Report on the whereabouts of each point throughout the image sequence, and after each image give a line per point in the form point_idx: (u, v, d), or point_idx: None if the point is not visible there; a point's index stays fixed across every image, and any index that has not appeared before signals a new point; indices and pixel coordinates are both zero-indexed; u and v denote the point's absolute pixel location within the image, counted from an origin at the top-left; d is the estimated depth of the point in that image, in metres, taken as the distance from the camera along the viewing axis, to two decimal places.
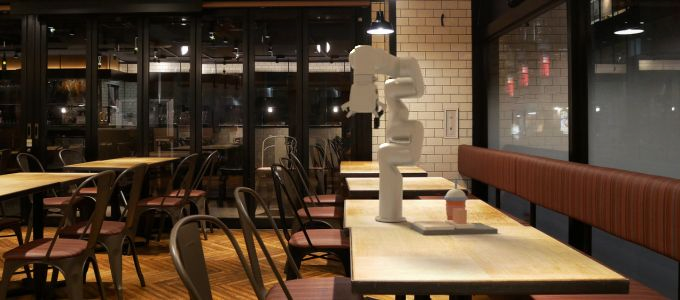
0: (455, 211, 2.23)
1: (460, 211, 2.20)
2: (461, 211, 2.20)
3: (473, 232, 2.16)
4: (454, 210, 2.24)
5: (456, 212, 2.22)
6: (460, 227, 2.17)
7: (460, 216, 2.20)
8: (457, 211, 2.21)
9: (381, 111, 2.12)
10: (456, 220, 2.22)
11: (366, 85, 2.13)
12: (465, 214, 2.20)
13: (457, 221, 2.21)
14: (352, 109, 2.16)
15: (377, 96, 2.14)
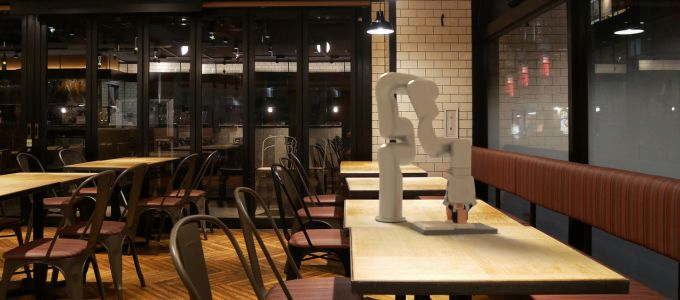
0: None
1: (460, 211, 2.20)
2: (461, 211, 2.20)
3: (473, 232, 2.16)
4: None
5: None
6: (460, 227, 2.17)
7: (460, 216, 2.20)
8: (457, 211, 2.21)
9: None
10: None
11: None
12: (465, 214, 2.20)
13: (457, 221, 2.21)
14: None
15: (447, 187, 2.21)
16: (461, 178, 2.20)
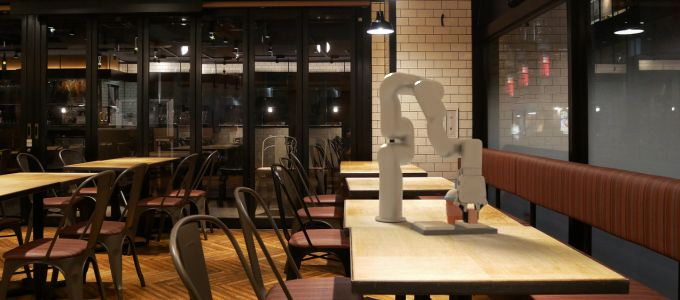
0: None
1: (471, 211, 2.21)
2: (472, 211, 2.21)
3: (473, 232, 2.16)
4: None
5: None
6: (471, 227, 2.17)
7: (471, 216, 2.21)
8: (468, 211, 2.22)
9: None
10: None
11: None
12: (476, 214, 2.21)
13: (468, 221, 2.22)
14: None
15: (458, 187, 2.22)
16: (472, 178, 2.21)
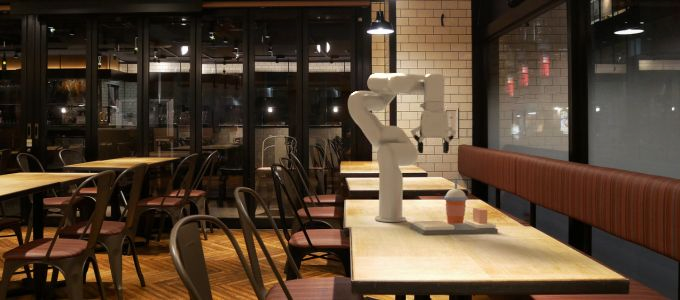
0: (476, 211, 2.24)
1: (481, 211, 2.21)
2: (482, 211, 2.21)
3: (473, 232, 2.16)
4: (474, 210, 2.25)
5: (476, 212, 2.24)
6: (481, 227, 2.18)
7: (481, 216, 2.21)
8: (478, 211, 2.23)
9: None
10: (476, 220, 2.24)
11: None
12: (486, 214, 2.22)
13: (478, 221, 2.23)
14: None
15: (421, 122, 2.25)
16: (434, 112, 2.23)
